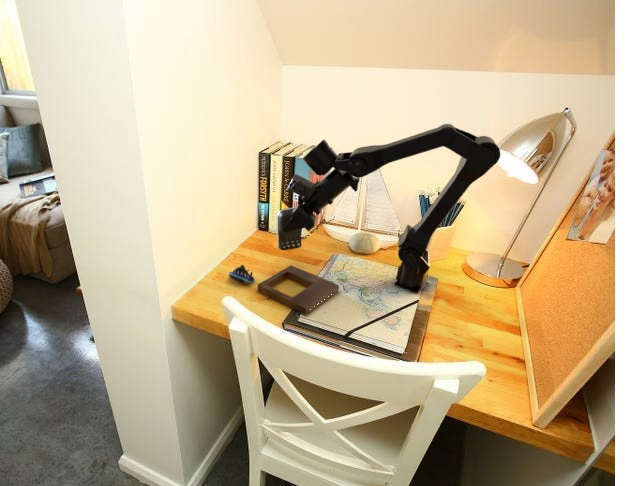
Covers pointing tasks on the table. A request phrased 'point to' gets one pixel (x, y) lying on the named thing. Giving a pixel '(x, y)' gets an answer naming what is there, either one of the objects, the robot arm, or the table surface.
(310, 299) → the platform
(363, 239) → the sea urchin shell
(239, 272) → the spaceship
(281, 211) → the battery charger
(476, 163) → the robot arm
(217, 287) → the table surface
